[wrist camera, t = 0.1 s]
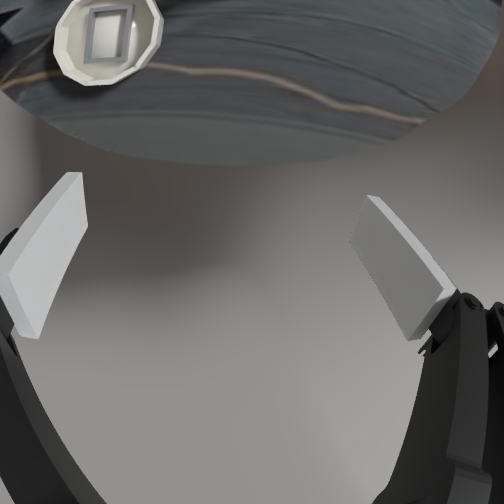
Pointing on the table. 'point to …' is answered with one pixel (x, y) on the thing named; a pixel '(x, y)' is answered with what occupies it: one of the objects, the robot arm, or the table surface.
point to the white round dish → (107, 39)
